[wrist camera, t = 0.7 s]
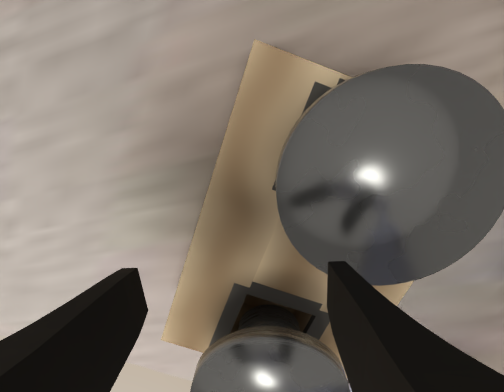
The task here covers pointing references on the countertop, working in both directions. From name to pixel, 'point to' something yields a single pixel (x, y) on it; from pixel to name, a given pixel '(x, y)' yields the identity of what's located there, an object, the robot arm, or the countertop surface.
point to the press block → (255, 215)
